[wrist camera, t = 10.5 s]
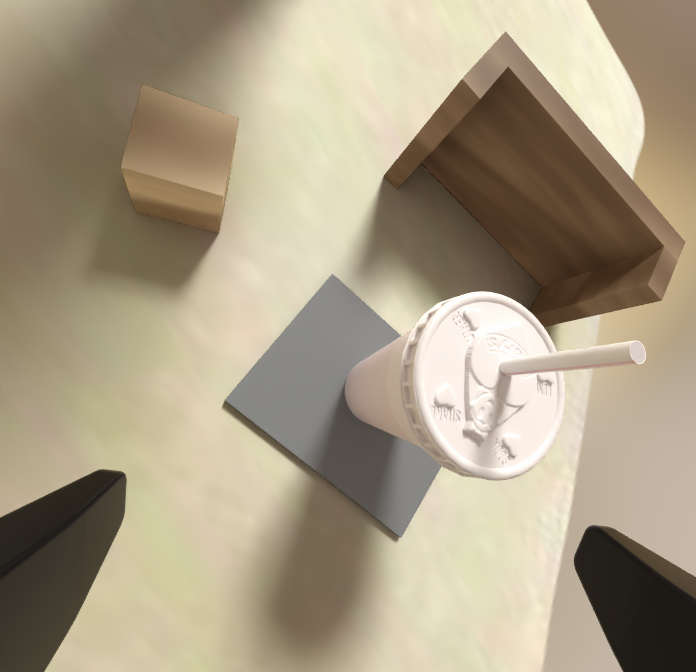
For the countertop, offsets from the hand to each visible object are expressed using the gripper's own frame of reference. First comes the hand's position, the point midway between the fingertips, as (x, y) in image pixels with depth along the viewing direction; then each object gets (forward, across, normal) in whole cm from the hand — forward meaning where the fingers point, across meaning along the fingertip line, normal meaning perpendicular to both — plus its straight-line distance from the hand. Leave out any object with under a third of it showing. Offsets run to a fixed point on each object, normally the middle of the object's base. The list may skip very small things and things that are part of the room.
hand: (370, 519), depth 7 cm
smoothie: (+14, -3, +3) cm, 15 cm away
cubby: (+21, -9, -7) cm, 24 cm away
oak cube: (+16, +9, -6) cm, 19 cm away
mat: (+14, -2, +4) cm, 14 cm away
